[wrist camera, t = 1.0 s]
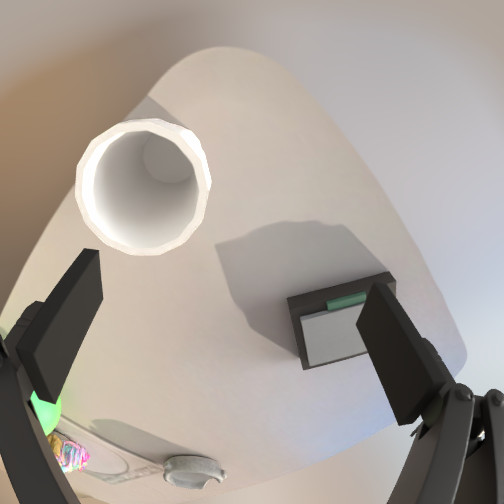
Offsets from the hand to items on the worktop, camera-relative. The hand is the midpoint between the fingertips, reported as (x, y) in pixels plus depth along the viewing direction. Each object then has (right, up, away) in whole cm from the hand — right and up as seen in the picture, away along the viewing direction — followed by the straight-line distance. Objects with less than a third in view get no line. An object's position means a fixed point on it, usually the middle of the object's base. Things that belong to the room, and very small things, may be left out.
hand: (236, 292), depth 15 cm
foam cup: (-8, +12, +17) cm, 22 cm away
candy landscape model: (-53, -50, +47) cm, 86 cm away
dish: (-14, -49, +49) cm, 70 cm away
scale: (+13, -7, +28) cm, 32 cm away
